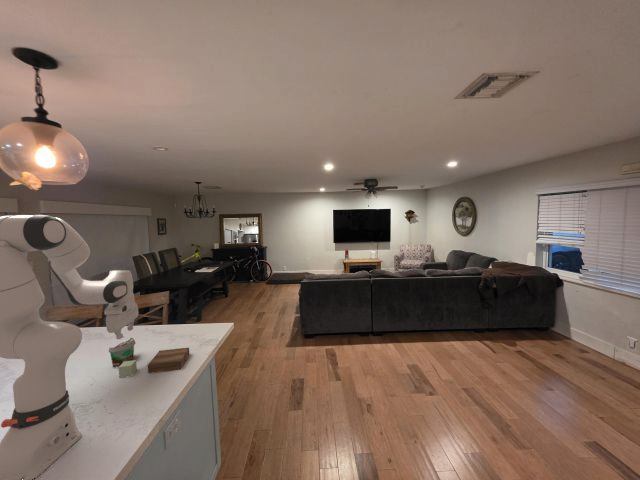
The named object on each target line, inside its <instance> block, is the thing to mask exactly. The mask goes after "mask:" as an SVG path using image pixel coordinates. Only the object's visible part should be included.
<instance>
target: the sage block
mask: <svg viewBox="0 0 640 480" xmlns="http://www.w3.org/2000/svg"><path fill="white" fill-rule="evenodd" d="M137 371H138V368H137V360H136V359H133V361H124V362H123V363H122V364H121V365H120V366H118V377H119V379H120V378H121V379H122V378H127V376H129V377H133V375H134V374H136V372H137Z"/></svg>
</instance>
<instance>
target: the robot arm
mask: <svg viewBox="0 0 640 480" xmlns="http://www.w3.org/2000/svg"><path fill="white" fill-rule="evenodd" d="M36 251H41V252H42V254H43V255H45V256H46V257H47V258H48V260H49V262H48V266H49V268H50V270H51V272H52V273H53V275H54V276H55V278H56V279H57V280H58V281H59V283H60V284H61V286H62V287H63V289H64V290H65V291H66V293H67V296H68V299H69V300H70V302H71V303H72V304H73V305H75V306H88V305H107V304H108V306H106V308H104V310H103V312H104V313H103V314H104V315H105V324H106V325H105V326H106V331H107V332H108V333H109V334H113V333H114V335H115V336H116V337H115V339H117V340H122V339H123V338H124V336H123V333H122V330H123V328H125V327H126V326H127V331H128V332H130V331H133V330H134V323H135V320H136V319H137V318H138V317H139V313H140V312H139V306H138V303H137V302H136V300H135V294H134V280H133V274H132V272H131V270H129V269H122V268H121V269H111V270H110V271H109V272H108V275H107V276H106V277H105V278H104V279H103V280H87V279H84V278H82V276H81V275H80V274H79V272H78V271H77V268H79V267H81V266H82V265H83V264H85V263H86V261H87V260H88V259H89V258H90V255H91V249H90V247H89V245H88V243H87V242H86V241H85V240H84V238H83V237H82V236H81V235H80V233H78V231H77V230H75V229H74V228H73V226H71V225H70V224H69V223H68V222H66V221H65V220H63V219H62V218H59V217H54V216H51V215H47V214H46V215H45V214H33V215H32V214H31V215H29V214H11V215H10V214H9V215H2V216H0V358H2V359H7V360H8V359H9V360H23V362H24V369H23V373H22V374H21V375H20V376H19V377H17V378H16V379H15V381H14V382H13V385H12V392H13V393H12V394H13V400H14V408H13V411H12V414H11V418H6V419H4V420H2V421H1V423H0V427H1V428H2V429H3V428H4V429H5V428H7V427H8V428H9V429H8V430H7V431H6V434H4V436H3V438H2V439H1V441H0V480H22V479H23V480H31V479H33V480H35V479H36V478H38V477H39V476H40V475H41V474H43V472H44V471H46V470H47V469H48V468H49V467H50V466H52V464H53V463H54V462H55V461H57V460H58V459H59V458H60V457H61V456H62V455H63V454H65V452H66V451H68V450H69V449H70V448H71V447H72V446H73V445H74V444H75V443H76V442H77V441H78V440H80V439H81V438H82V437H83V435H82V432H81V431H80V430H78V425H77V422H76V418H75V413H74V412H73V410H72V409H71V408H70V405H69V403H70V394H69V391H68V390H67V386H66V385H67V383H66V367H67V362H68V361H69V358H70V356H71V355H72V354H73V353H74V352H76V350H78V348H79V347H80V345H81V343H82V340H83V332H82V330H81V328H80V327H79V326H77V325H75V324H72V323H68V322H64V321H48V320H47V321H45V320H43V319H42V318H41V316H40V311H39V310H40V308H41V307H42V306H43V305H44V303H45V301H46V297H45V294H44V293H43V290H42V287H41V285H40V283H39V281H38V279H37V278H38V277H36V274H35V272H34V271H33V269H32V267H31V264H30V263H29V262H28V254H29V253H28V252H36ZM34 478H35V479H34Z"/></svg>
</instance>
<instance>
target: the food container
mask: <svg viewBox="0 0 640 480" xmlns="http://www.w3.org/2000/svg"><path fill="white" fill-rule="evenodd" d="M129 338H130V339H128V340H126V341H123V342H120V343H119V344H118V345H116V346H114V347H109V349H108V353H109V354H110V359H111V364H112V367H113V368H115V367H119V366H120V365H121V364H122V363H123V362H124V361H133V360H135V359H134V355H135V352H134V351H135V345H136V339H134V338H133V337H129Z"/></svg>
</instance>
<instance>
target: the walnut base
mask: <svg viewBox="0 0 640 480" xmlns="http://www.w3.org/2000/svg"><path fill="white" fill-rule="evenodd" d="M189 356H190V347H180V348H173V349H162V350H158V352H157V353H156V354H155V356H154V357H153V358H152V359H151V360H150V362H149V363H147V373H148V374H154V373H163V372H170V371H178V370H182V369H183V367H184V365H185V364H186V361H187V360H188V358H189Z"/></svg>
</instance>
